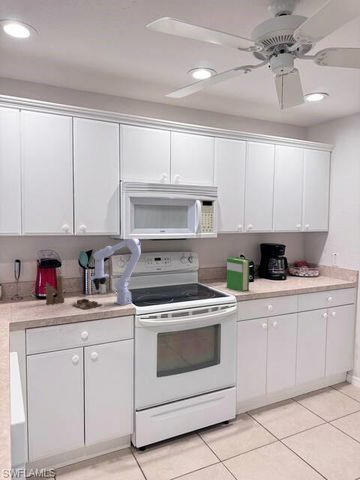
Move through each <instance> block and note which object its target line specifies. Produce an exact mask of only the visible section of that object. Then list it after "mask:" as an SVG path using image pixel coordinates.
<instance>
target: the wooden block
mask: <svg viewBox="0 0 360 480" xmlns="http://www.w3.org/2000/svg"><path fill="white" fill-rule="evenodd" d="M56 277H57V290H56V289H55V288H54V287H53V286H51V285H50V284H49V283H48V282H45V293H46V294H45V295H46V296H45V303H46V305H48V306H50V305H54V304H55V305H57V304H64V303H65V297H64V275H61V274H59V275H57V276H56ZM54 294H57V296H55V297H54Z"/></svg>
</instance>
